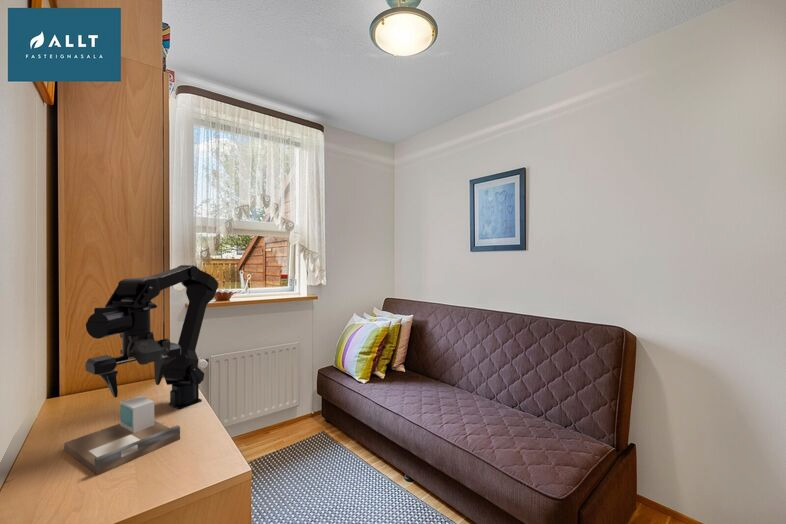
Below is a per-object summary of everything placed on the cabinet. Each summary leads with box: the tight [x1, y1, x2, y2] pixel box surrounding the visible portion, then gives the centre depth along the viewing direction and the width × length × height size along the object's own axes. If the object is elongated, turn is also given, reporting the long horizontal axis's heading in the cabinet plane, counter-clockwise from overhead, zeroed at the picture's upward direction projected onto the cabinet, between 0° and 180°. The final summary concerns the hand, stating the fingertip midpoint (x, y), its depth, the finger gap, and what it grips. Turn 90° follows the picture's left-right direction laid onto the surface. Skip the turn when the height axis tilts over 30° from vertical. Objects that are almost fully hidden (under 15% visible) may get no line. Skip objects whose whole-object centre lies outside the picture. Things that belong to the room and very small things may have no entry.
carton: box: [119, 395, 155, 433], centre depth 87 cm, size 5×7×6 cm
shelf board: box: [63, 419, 181, 476], centre depth 81 cm, size 16×18×3 cm
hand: (137, 390), depth 87 cm, fingers open, 9 cm apart
